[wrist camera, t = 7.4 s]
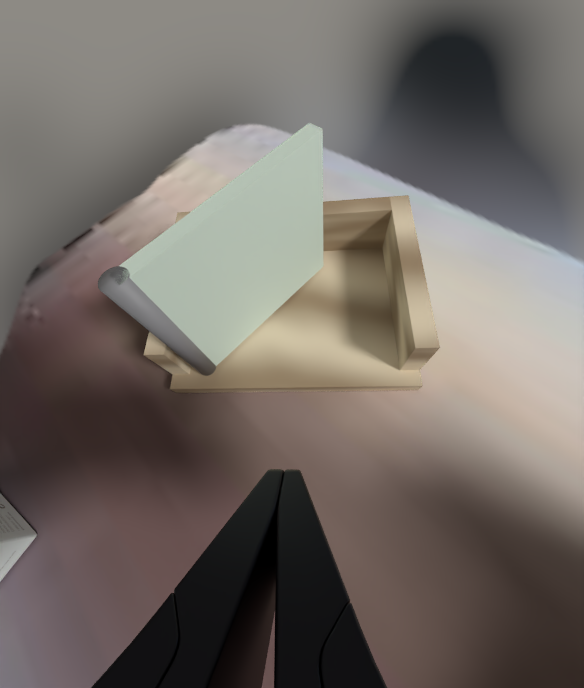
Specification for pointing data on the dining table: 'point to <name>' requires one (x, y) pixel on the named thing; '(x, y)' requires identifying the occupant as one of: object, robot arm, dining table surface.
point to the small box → (12, 536)
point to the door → (230, 256)
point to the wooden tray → (336, 315)
